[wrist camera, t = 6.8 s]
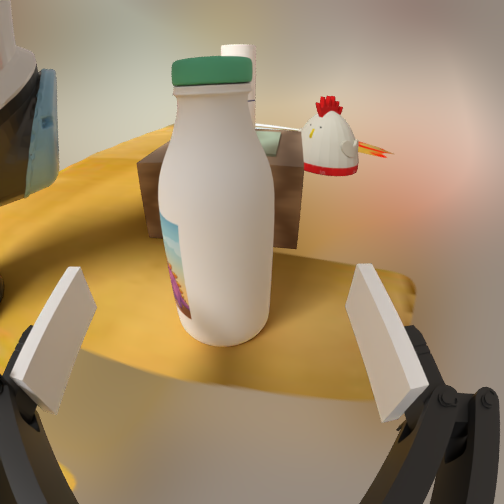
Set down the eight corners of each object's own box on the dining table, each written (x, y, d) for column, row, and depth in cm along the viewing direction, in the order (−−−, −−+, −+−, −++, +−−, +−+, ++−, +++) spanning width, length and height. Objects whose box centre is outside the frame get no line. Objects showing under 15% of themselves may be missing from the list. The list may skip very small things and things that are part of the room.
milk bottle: (276, 292, 28) (288, 59, 16) (257, 358, 22) (266, 51, 10) (198, 279, 29) (181, 62, 18) (166, 337, 23) (115, 67, 12)
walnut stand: (149, 237, 36) (136, 160, 30) (192, 182, 50) (188, 127, 45) (296, 249, 34) (304, 164, 28) (297, 188, 48) (301, 129, 43)
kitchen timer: (279, 161, 61) (281, 92, 52) (319, 152, 68) (324, 92, 59) (332, 181, 52) (340, 100, 43) (368, 169, 59) (377, 102, 51)
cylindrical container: (220, 158, 62) (218, 45, 47) (225, 150, 67) (224, 47, 53) (253, 159, 61) (254, 44, 47) (255, 150, 67) (256, 47, 53)
